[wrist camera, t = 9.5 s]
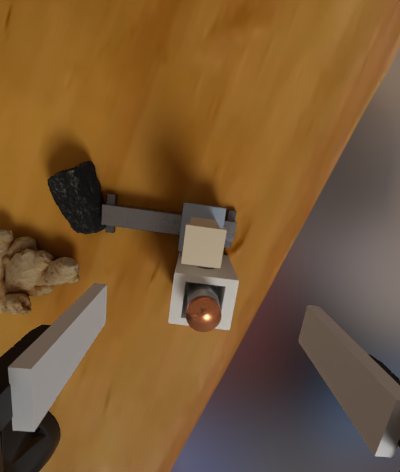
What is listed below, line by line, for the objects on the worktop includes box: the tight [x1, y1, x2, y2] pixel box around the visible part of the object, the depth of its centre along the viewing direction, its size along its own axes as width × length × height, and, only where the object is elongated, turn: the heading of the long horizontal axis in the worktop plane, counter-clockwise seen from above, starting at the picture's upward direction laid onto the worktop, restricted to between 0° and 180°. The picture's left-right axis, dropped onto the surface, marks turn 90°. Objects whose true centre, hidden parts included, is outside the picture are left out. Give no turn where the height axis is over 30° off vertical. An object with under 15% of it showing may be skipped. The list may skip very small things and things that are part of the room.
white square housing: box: [168, 251, 239, 330], centre depth 33 cm, size 8×7×10 cm
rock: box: [48, 161, 106, 234], centre depth 32 cm, size 7×10×6 cm
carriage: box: [178, 202, 227, 268], centre depth 29 cm, size 6×7×13 cm
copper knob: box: [186, 282, 221, 332], centre depth 28 cm, size 4×4×6 cm
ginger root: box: [0, 229, 80, 315], centre depth 34 cm, size 16×16×8 cm
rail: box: [101, 194, 237, 248], centre depth 34 cm, size 20×6×2 cm, turn 82°
